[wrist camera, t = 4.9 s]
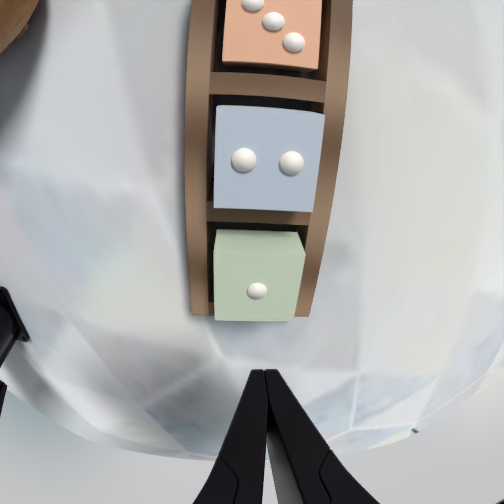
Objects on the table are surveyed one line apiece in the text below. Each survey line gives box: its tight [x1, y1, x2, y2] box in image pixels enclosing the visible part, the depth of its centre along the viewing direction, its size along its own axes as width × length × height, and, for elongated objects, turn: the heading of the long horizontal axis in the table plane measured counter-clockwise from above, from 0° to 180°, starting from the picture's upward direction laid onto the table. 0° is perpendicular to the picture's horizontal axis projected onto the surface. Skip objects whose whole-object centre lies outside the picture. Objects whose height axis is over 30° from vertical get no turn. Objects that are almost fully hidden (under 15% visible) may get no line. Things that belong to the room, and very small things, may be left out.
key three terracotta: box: [222, 0, 322, 73], centre depth 10 cm, size 4×4×2 cm
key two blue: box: [214, 105, 325, 212], centre depth 12 cm, size 4×4×2 cm
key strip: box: [185, 0, 353, 317], centre depth 14 cm, size 19×7×2 cm, turn 177°
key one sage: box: [214, 229, 306, 321], centre depth 15 cm, size 4×4×2 cm
